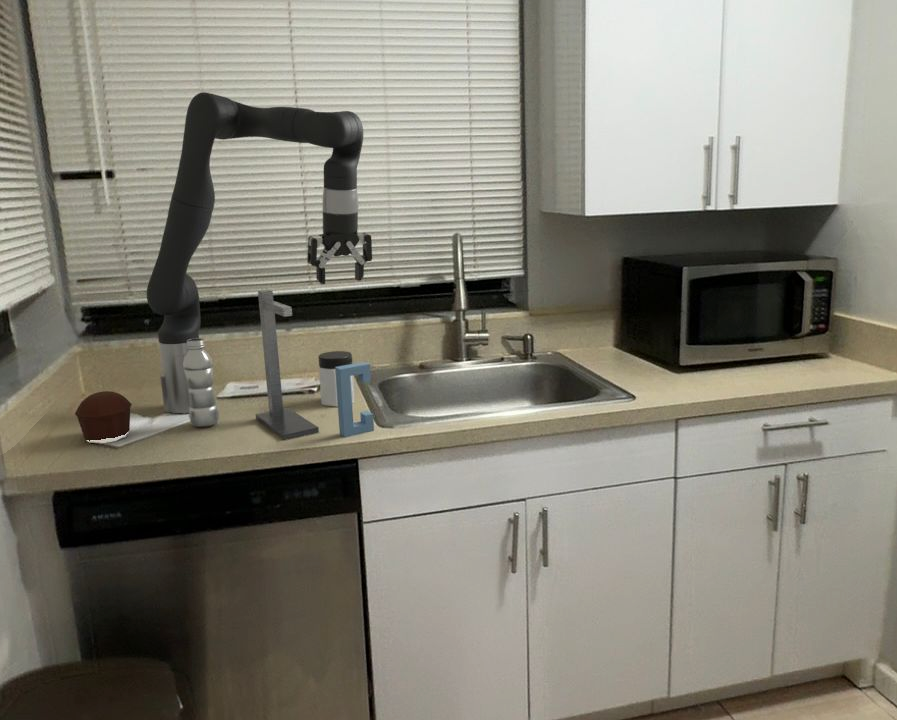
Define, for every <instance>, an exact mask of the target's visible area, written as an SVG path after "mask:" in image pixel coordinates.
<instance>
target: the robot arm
mask: <svg viewBox="0 0 897 720" xmlns="http://www.w3.org/2000/svg"><path fill="white" fill-rule="evenodd" d="M239 138H240V139H241V138H267V139H271V140H276V141H284V142H289V143H290V142H291V143H298V144H299V143H300V144H311V145H314V146H318V147H322V148H327V149H329V148H330V149H332V153H331V156H330V157H329V158H328V159H327V160H326V161H325V162H324V164H323V192H322V235H321V237H314V236H312V235H311V236H308V242H307V259H306V260H307V263H308V264H309V265H311V266H312V267H315V268H316V269H315V271H316V280H317V281H318V282H319V284H320V285H325V284H326V267H325V266H326V265H327V263H328V262H329V261H330V260H331V259H332V258H333V257H336V258H337V257H340V256H343V257H344V256H345V257H347V256H349V255H350V256H352V258H353V259H354V261H356V262H355V263H354V278H355V280H356V281H358V282H359V281H360V282H361V281H362V279H363V278H364V275H365V274H364V273H365V264H366V263H367V262H371V261H372V260H373V248H372V247H373V245H372V243H373V242H372V235H370V234H368V233H367V232H363V233H362V234H359V233H358V231H359V230H358V229H359V227H358V225H359V224H358V223H359V221H358V220H359V217H358V216H359V198H358V197H359V195H358V185H357V184H358V171H357V170H358V165H359V161H360V156H361V152H362V148H363V144H364V143H363V142H364V127H363V122H362V121H361V118H360V117H359V116H358V115H357V114H356V113H355V112H353V111H350V110H343V111H315V110H313V109H310V108H305V107H304V108H303V107H292V106H275V107H274V106H272V107H257V106H252V105H247V104H244V103H241V102H238V101H235V100H232V99H231V98H228V97H226V96H222V95H218V94H214V93H210V92H205V91H202V92H199V93H197V94H195V95H194V96H193V97H192V99H191V100H190V102H189V104H188V107H187V110H186V115H185V121H184V130H183V138H182V144H181V145H182V147H181V154H180V159H179V164H178V168H177V173H176V178H175V183H174V186H173V191H172V195H171V198H170V202H169V207H168V211H167V217H166V222H165V226H164V230H163V234H162V237H161V238H162V239H161V244H160V248H159V252H158V255H157V258H156V261H155V264H154V267H153V270H152V273H151V275H150V277H149V281H148V282H147V283H148V284H147V288H146V300H147V304H148V305H149V307H150V309H151V310H152V311H153V312H154V313H155V314H158V315H161V316H164V317H163V318H164V319H163V321H162V322H163V323H162V324H161V326H160V327H159V328H158V331H157V337H158V347H159V354H160V355H159V356H160V360H161V361H160V362H161V370H162V373H160V386H161V392H162V401H163V408H164V409H163V410H164V413H170V412H173V413H172V414H175V413H183V414H189V407H190V400H189V389H188V388H189V387H188V383H187V379H186V375H185V372H184V368H183V360H184V358H185V356H186V355H187V353H188V351H189V349H187V340H189V339H194V338H200V334H199V333H200V328H201V306H200V296H199V295H200V294H199V289H198V286H197V284H196V282H195V280H194V279H193V278H192V276H191V275H189V274H187V271H188V268H189V264H190V262H191V260H192V258H193V256H194V253H195V252H196V250H197V249H198V247H199V246H200V244H201V242H202V241H203V239H204V237H205V235H206V233H207V232H208V229H209V226H210V224H211V219H212V216H213V212H214V207H215V203H216V201H215V200H216V195H215V186H214V183H213V179H212V175H211V167H210V166H211V164H210V163H211V162H210V161H211V155H212V150H213V147H214V143H215V140H222V141H223V140H232V139H239ZM359 242H360V244H362V255H361V254H360V252H359V250H357V248H356V246H357V245H358V243H359ZM321 244H322V246H323V248H322V250H321V252H320V253H319V255H318V248H319V247H320V246H321Z"/></svg>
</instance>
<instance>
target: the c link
mask: <svg viewBox="0 0 897 720" xmlns="http://www.w3.org/2000/svg"><path fill="white" fill-rule="evenodd" d="M335 374H336V388H337V402H338V407H337V413H338V414H337V415H338V427H339V435H340V434H341V435H340V436H342V437H344V438H349V437H352V435H353V436H356V435H360V434H366V433H369V431H370V432H373V430H374V431H375V426H374V425H375V424H374V413H372V412H370V411H368V410H367V411H363V412H360V414H359V415H360V421H356V422H354V416H353V415H354V411H353V404H352V395H351V380H350V376H353V377H354V376H357V380H358V381H359V382H362V383H363V384H364V383H369V382H371V381H372V376H371V374H372V372H371V364H370V363H368V362H366V361H361V362H357V363H353V364H350V365H344V366H338V367H335ZM365 432H366V433H365Z"/></svg>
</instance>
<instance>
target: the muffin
mask: <svg viewBox="0 0 897 720" xmlns="http://www.w3.org/2000/svg"><path fill="white" fill-rule="evenodd" d="M131 408H132V403H131V402H130V401H129V400H128V399H127V398H126V397H125V396H124V395H122V394H121V393H119V392H115V391H98V392H95V393H92V394H90V395H88V396H86V397H85V398H84V399H83V400H82V401H81V402H80V404H79V405H78V407H77V409H76V410H75V412H74V415H75V417H77V420H78V423H79V427H80V429H81V432H82V435H83V437H84V441H85V440H89V441H90V440H101V439H106V438H115V437H118V436H121V435H125V434H126V433H127V432H128V431H129V430H130V429H131V428H130V425H131V424H130V423H131Z"/></svg>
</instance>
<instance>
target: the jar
mask: <svg viewBox="0 0 897 720" xmlns="http://www.w3.org/2000/svg"><path fill="white" fill-rule="evenodd" d="M353 361H354V360H353V354H352V353H351V352H350V351H343V350H335V351H327V352H323V353H320V354H319V355H318V366H319V368H318V374H319V386H320V387H319V388H320V399H321V400H320V401H321V402H320V403H321V405H322V406H328V407H335V408H338V402H337V388H336V374H335V367H338V366H344V365H350V364H354V363H353ZM354 379H355V378H354V375H353V376H350V380H351V395H352V405H353V404H354V403H355V397H356V395H355V394H356V393H355V381H354Z"/></svg>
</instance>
